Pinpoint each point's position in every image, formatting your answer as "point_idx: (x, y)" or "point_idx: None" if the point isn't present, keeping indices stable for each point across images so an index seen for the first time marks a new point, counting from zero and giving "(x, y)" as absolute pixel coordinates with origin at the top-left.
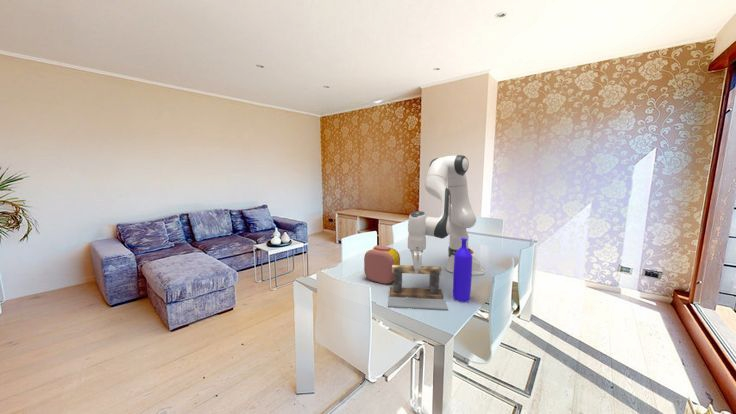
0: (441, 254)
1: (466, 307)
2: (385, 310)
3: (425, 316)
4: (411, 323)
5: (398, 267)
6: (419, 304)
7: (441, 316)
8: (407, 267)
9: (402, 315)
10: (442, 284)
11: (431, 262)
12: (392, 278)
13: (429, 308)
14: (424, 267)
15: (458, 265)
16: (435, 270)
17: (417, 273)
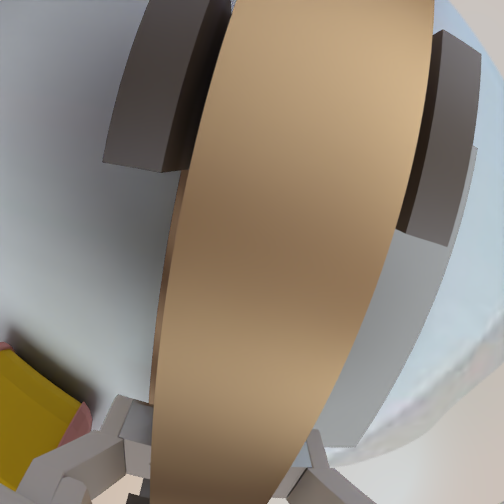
0: None
1: (444, 26)
2: (372, 446)
3: (480, 295)
4: (488, 360)
5: None
6: (401, 306)
7: (501, 214)
8: None
9: (434, 390)
10: (92, 24)
11: None
12: (83, 422)
13: (448, 256)
14: (277, 389)
15: None
16: (462, 131)
17: (312, 434)
